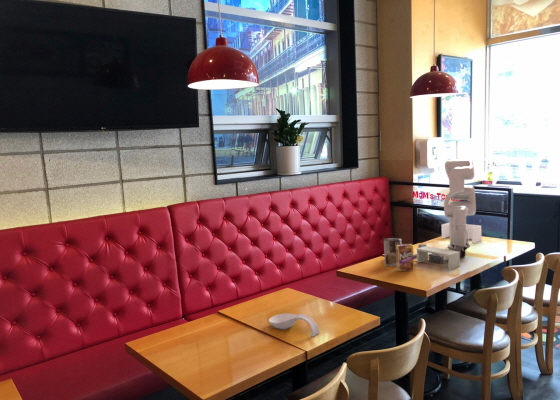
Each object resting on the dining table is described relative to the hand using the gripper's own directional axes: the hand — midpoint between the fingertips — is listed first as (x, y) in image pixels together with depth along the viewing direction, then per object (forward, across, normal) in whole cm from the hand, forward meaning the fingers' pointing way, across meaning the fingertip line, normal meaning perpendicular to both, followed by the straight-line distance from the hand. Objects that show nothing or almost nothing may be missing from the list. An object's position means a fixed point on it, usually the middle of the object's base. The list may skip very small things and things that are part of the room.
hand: (460, 255), depth 279 cm
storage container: (+1, -28, +43) cm, 51 cm away
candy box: (+1, -6, -45) cm, 45 cm away
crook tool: (+1, -3, -9) cm, 10 cm away
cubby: (+1, 0, -22) cm, 22 cm away
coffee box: (+1, -19, -41) cm, 45 cm away
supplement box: (+1, -28, -29) cm, 40 cm away
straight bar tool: (+1, -20, -17) cm, 26 cm away
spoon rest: (+2, +18, -142) cm, 143 cm away
